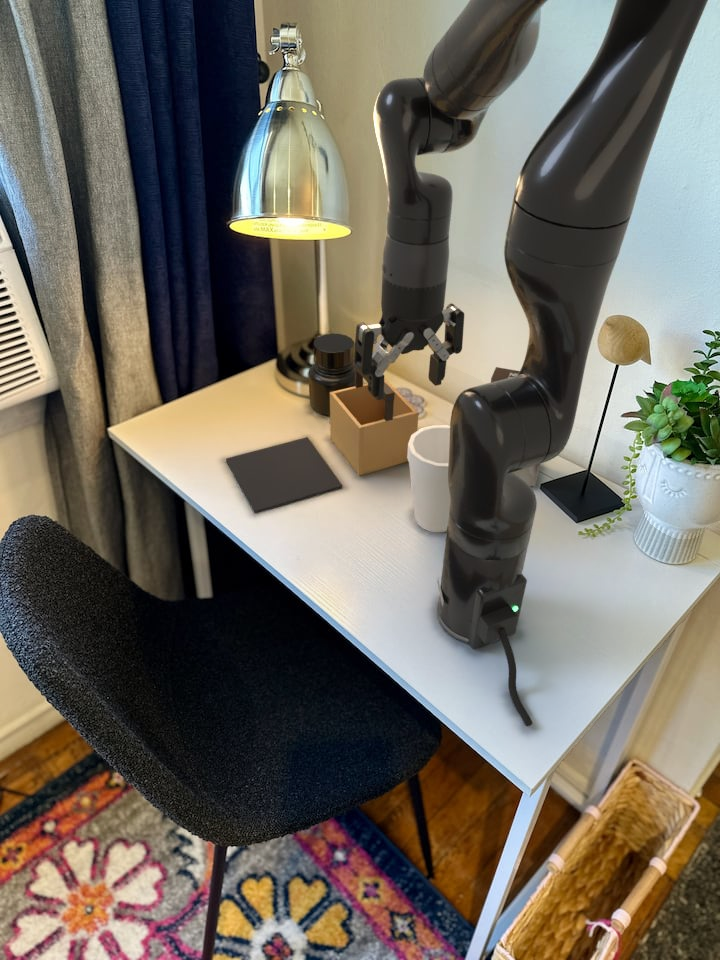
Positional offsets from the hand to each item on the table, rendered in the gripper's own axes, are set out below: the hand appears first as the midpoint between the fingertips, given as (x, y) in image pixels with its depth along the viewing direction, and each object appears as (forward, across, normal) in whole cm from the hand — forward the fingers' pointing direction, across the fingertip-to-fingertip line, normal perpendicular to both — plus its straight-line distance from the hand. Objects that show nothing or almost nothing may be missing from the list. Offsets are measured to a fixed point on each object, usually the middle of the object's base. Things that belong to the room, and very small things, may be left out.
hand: (406, 389), depth 94 cm
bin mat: (+20, -13, +14) cm, 28 cm away
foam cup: (+20, +4, -5) cm, 21 cm away
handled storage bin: (+20, +3, +14) cm, 25 cm away
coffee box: (+20, +20, 0) cm, 28 cm away
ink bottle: (+21, +3, +29) cm, 36 cm away
